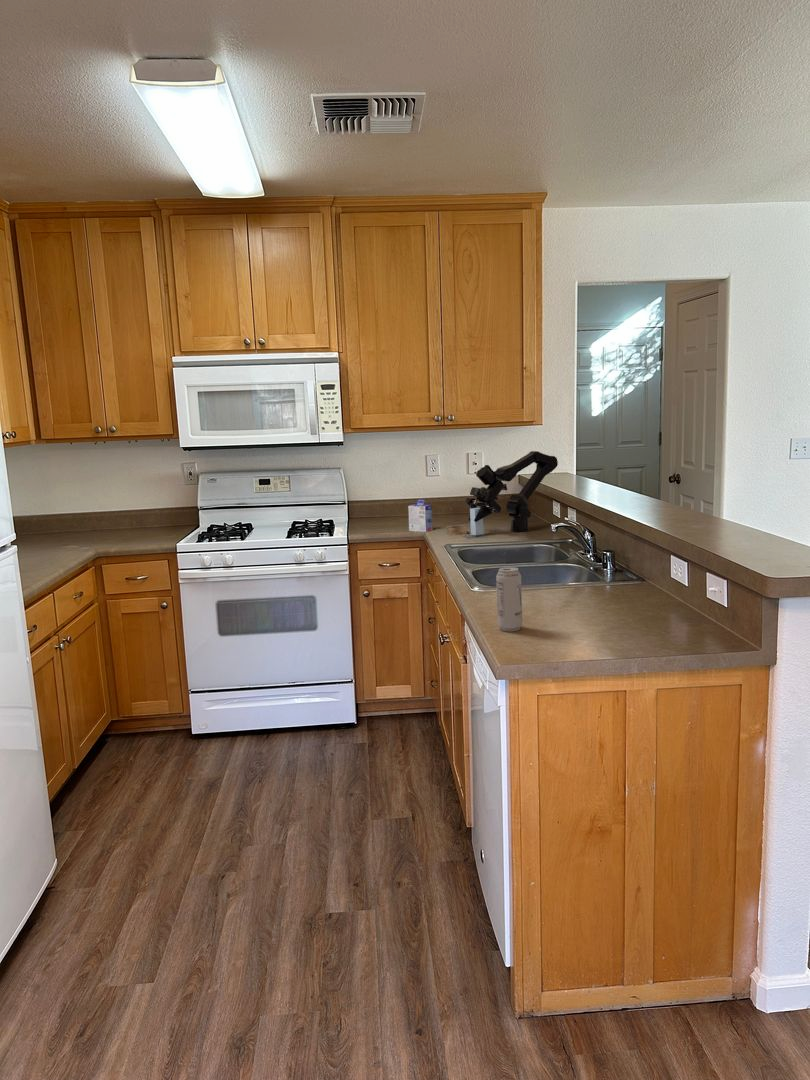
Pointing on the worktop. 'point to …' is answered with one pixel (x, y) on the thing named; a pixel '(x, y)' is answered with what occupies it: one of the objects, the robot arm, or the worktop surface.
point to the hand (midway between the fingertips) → (472, 520)
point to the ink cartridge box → (420, 517)
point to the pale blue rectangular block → (475, 526)
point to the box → (456, 530)
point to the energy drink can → (509, 599)
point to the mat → (474, 536)
